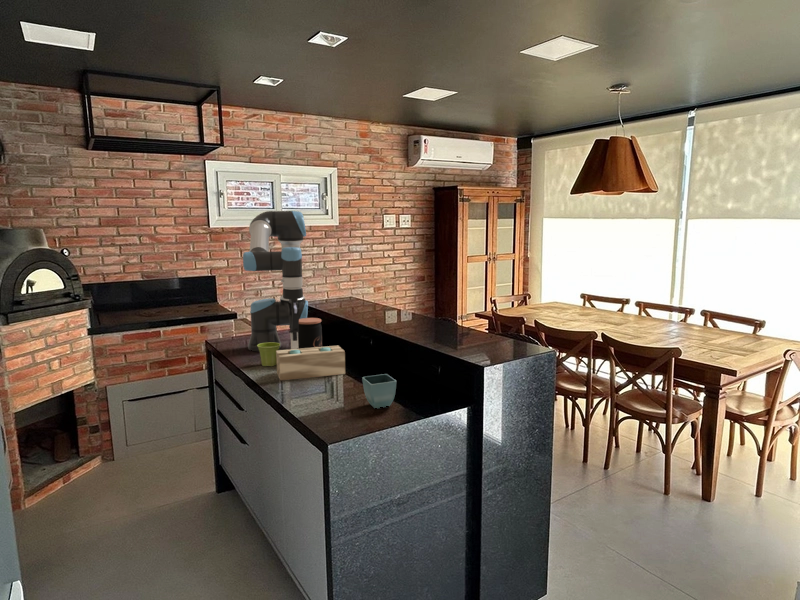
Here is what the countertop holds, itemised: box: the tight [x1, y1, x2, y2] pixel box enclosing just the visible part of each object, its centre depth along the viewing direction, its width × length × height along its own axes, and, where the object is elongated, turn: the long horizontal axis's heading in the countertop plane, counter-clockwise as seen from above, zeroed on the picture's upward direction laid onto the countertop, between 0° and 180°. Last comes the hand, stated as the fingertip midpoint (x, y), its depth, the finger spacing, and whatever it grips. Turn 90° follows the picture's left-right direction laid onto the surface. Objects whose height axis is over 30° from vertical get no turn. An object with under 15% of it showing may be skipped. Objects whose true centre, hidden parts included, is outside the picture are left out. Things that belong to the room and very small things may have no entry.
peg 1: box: [290, 350, 300, 354], centre depth 199 cm, size 4×4×8 cm
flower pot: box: [361, 373, 397, 409], centre depth 164 cm, size 9×9×9 cm
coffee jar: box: [297, 317, 323, 349], centre depth 219 cm, size 11×11×18 cm
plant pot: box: [257, 342, 280, 367], centre depth 214 cm, size 9×9×9 cm
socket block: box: [276, 345, 346, 381], centre depth 201 cm, size 11×25×9 cm, turn 110°
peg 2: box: [320, 346, 331, 352], centre depth 203 cm, size 4×4×8 cm
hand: (294, 348), depth 199 cm, fingers closed
